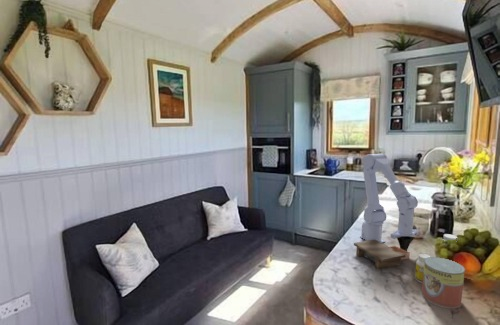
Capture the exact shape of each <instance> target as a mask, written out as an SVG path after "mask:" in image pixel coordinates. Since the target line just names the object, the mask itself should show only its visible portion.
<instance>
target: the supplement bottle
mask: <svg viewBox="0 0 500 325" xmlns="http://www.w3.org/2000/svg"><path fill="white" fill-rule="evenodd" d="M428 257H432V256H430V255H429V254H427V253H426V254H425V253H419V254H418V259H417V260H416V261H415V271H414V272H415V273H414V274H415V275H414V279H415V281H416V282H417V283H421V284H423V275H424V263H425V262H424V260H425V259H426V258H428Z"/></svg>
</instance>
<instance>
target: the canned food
mask: <svg viewBox="0 0 500 325" xmlns="http://www.w3.org/2000/svg"><path fill="white" fill-rule="evenodd" d="M424 262H425V263H424V275H423V283H422V287H421V295H422V297H423V298H424V299H425V300H426V301H428V302H429V303H431V304H433V305H436V306H438V307H441V308H445V309H458V308H460V307H462V304H463V302H462V299H463V289H464V280H465V272H466V268H465V267H464V266H463V265H462V264H460V263H459V262H458V263H457V262H455V261H452V260H449V259H445V258H440V257H439V256H431V257H428V258H426V259H425V260H424Z"/></svg>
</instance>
